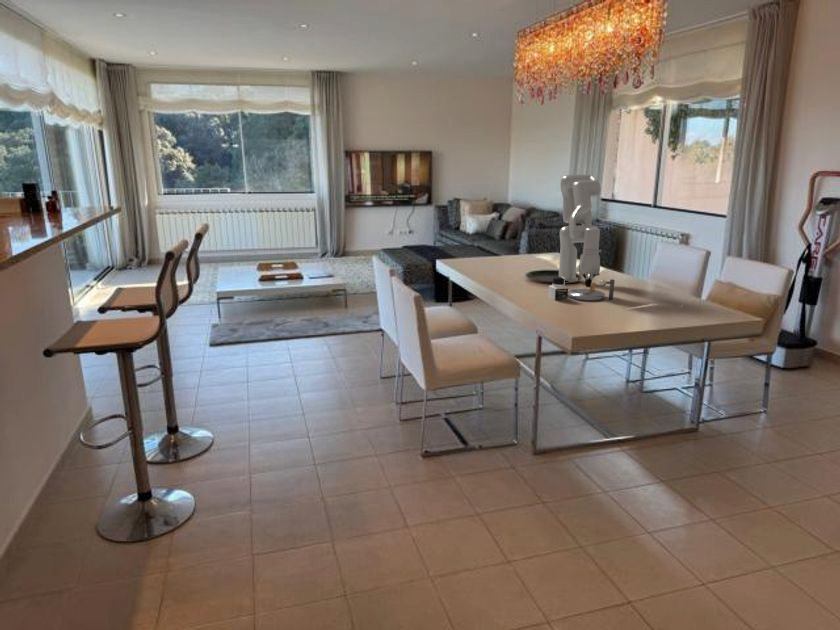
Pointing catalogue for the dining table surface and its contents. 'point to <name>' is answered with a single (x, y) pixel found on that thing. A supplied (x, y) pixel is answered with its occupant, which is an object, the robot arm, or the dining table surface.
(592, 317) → the dining table surface
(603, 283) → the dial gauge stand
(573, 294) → the disc
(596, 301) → the base
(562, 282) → the medicine bottle
